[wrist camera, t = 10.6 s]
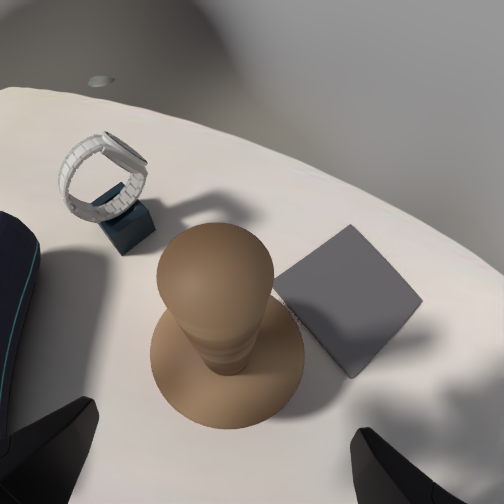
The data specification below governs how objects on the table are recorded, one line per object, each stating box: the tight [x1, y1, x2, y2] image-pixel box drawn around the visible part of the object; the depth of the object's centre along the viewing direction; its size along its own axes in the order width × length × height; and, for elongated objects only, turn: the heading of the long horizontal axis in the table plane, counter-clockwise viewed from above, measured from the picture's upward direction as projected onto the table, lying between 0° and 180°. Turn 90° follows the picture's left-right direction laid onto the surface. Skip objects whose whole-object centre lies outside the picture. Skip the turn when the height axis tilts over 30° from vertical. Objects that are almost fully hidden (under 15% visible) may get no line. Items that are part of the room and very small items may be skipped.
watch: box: [58, 131, 156, 256], centre depth 23 cm, size 6×8×11 cm
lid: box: [150, 223, 304, 429], centre depth 13 cm, size 10×10×12 cm
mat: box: [273, 224, 422, 378], centre depth 25 cm, size 11×11×1 cm
